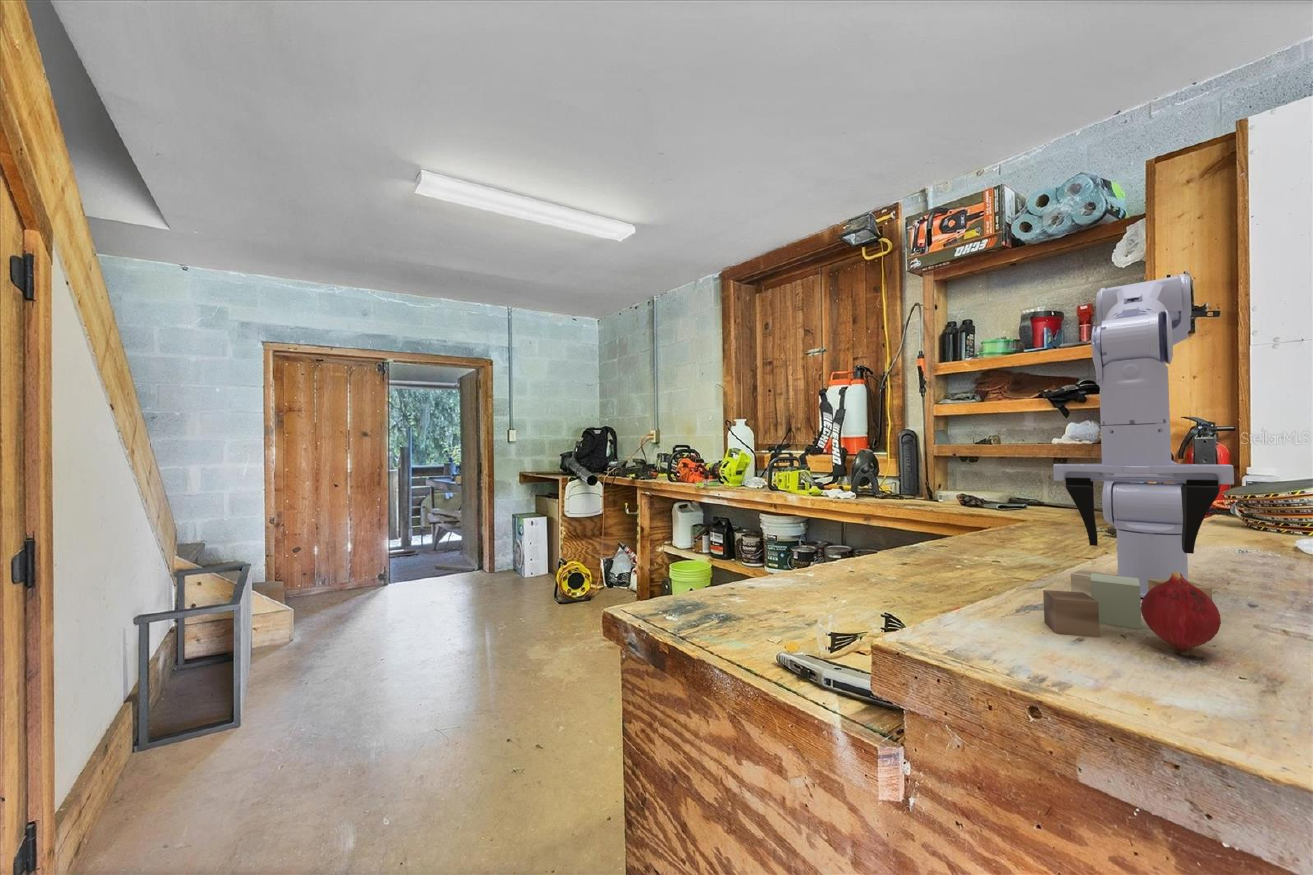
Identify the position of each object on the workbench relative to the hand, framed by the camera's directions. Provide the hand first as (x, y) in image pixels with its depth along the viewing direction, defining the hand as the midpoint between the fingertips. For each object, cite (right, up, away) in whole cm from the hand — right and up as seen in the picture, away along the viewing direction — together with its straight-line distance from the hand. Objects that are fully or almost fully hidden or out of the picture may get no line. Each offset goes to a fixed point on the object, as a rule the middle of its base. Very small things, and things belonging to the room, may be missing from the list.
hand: (1138, 548), depth 58 cm
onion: (+1, -10, -4) cm, 11 cm away
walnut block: (-5, -10, +3) cm, 12 cm away
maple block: (+5, -10, +12) cm, 16 cm away
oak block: (+11, -10, +7) cm, 16 cm away
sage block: (+2, -10, +5) cm, 12 cm away
